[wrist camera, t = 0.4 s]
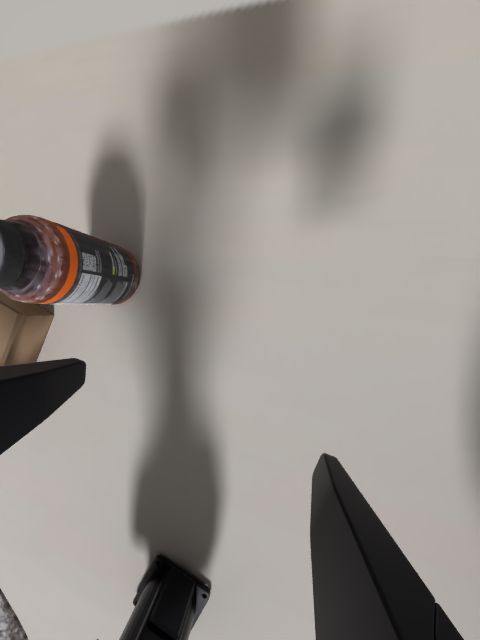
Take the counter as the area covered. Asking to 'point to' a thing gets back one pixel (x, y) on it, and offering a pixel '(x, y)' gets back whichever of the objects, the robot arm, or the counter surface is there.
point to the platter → (9, 622)
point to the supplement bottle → (62, 265)
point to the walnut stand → (21, 331)
